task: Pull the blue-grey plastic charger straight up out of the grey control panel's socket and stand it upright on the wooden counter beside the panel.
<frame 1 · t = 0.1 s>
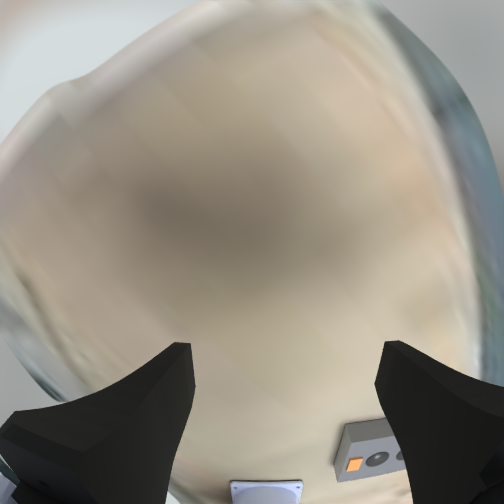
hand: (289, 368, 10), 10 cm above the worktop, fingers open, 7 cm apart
grey control panel: (418, 432, 24), on the worktop
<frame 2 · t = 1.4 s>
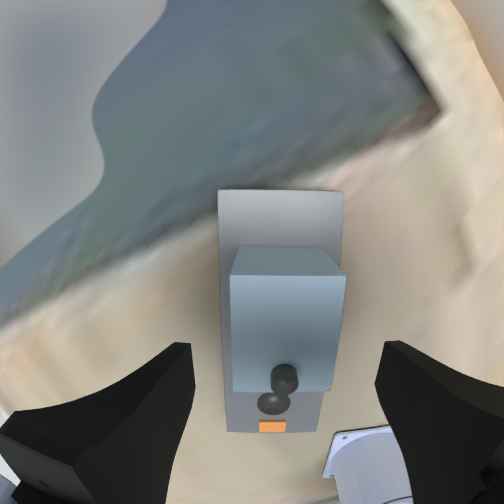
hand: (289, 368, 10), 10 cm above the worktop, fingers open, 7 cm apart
charger: (277, 283, 19), point 1 cm above the worktop, touching grey control panel
grey control panel: (275, 320, 21), on the worktop
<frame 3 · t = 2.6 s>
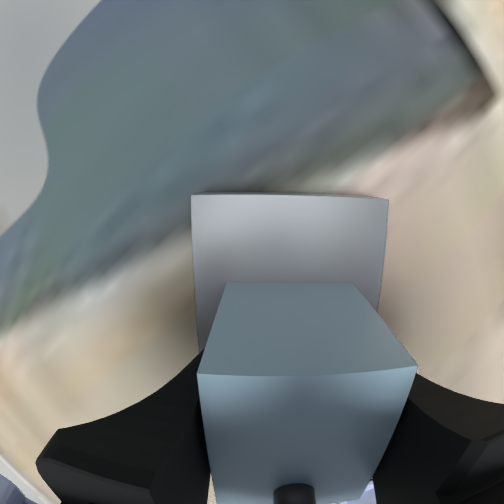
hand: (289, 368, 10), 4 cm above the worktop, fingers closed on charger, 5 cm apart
charger: (284, 330, 13), point 1 cm above the worktop, touching gripper, grey control panel
grey control panel: (280, 374, 15), on the worktop
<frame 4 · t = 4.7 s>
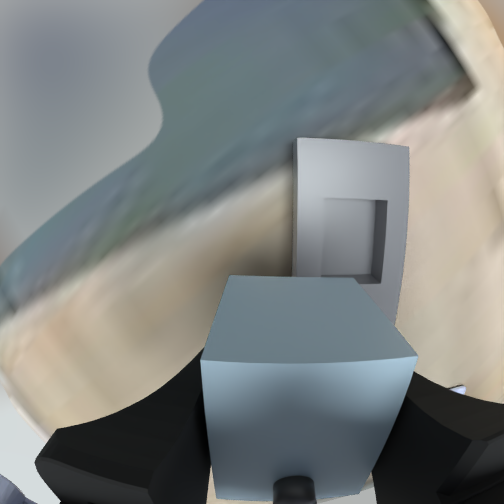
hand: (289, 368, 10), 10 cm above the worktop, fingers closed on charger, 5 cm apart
charger: (285, 325, 13), point 7 cm above the worktop, touching gripper
grey control panel: (341, 278, 20), on the worktop
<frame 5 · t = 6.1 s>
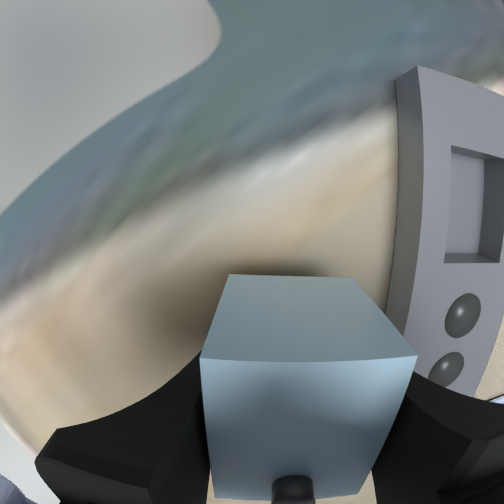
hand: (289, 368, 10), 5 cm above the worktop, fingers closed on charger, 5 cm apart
charger: (284, 324, 13), point 1 cm above the worktop, touching gripper
grey control panel: (446, 258, 14), on the worktop
when the fingers open (4 cm above the worktop, at t = 7.1 s): charger stays where it is, on the worktop.
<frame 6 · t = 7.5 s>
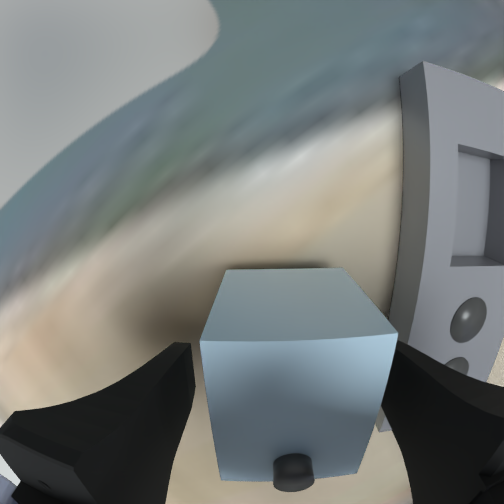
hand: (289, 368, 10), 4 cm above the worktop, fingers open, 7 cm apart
charger: (281, 316, 14), on the worktop
grey control panel: (451, 260, 13), on the worktop
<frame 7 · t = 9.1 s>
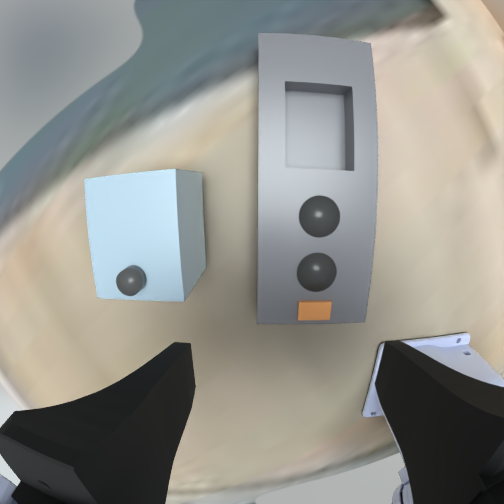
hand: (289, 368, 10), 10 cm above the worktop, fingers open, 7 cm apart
charger: (175, 218, 20), on the worktop
grey control panel: (313, 176, 19), on the worktop
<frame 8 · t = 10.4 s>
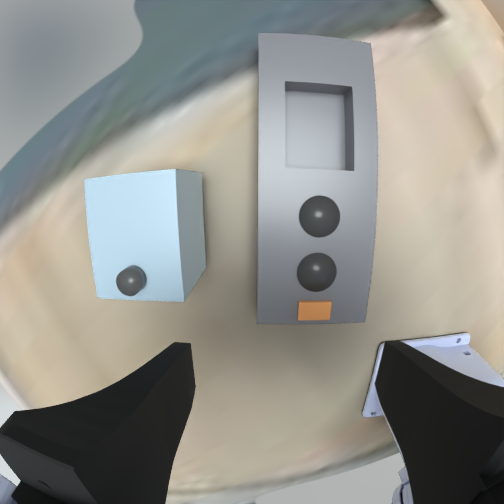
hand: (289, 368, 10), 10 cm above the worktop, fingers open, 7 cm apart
charger: (175, 218, 20), on the worktop
grey control panel: (313, 176, 19), on the worktop
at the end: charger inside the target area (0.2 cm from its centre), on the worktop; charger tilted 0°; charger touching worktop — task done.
